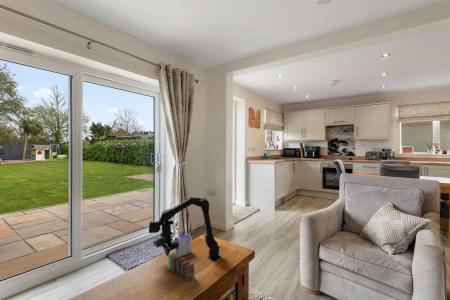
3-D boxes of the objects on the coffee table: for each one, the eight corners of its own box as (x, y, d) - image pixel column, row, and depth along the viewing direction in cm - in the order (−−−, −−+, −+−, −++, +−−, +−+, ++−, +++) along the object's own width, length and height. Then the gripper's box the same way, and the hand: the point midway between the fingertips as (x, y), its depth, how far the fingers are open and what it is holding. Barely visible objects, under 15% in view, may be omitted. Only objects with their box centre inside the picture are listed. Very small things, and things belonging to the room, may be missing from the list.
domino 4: (181, 277, 122) (180, 263, 122) (188, 273, 125) (187, 260, 125) (182, 278, 121) (182, 264, 121) (189, 274, 124) (189, 261, 124)
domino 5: (185, 280, 119) (185, 266, 119) (192, 276, 122) (192, 262, 122) (187, 281, 118) (187, 267, 118) (194, 277, 121) (194, 263, 121)
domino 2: (172, 271, 128) (172, 258, 128) (179, 268, 131) (178, 255, 131) (174, 272, 127) (173, 259, 127) (180, 269, 130) (180, 256, 130)
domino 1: (168, 268, 131) (168, 255, 131) (175, 265, 134) (174, 252, 134) (170, 269, 130) (169, 256, 130) (176, 266, 133) (176, 253, 133)
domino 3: (176, 274, 125) (176, 260, 125) (183, 270, 128) (183, 257, 128) (178, 275, 124) (177, 261, 124) (185, 271, 127) (184, 258, 127)
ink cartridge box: (187, 249, 155) (186, 229, 155) (191, 252, 151) (190, 231, 151) (175, 254, 149) (174, 233, 149) (178, 257, 145) (178, 235, 144)
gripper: (147, 231, 137) (148, 255, 137) (162, 239, 124) (163, 266, 124) (163, 226, 145) (163, 249, 145) (179, 233, 132) (179, 258, 132)
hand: (167, 255), depth 136 cm, fingers closed
